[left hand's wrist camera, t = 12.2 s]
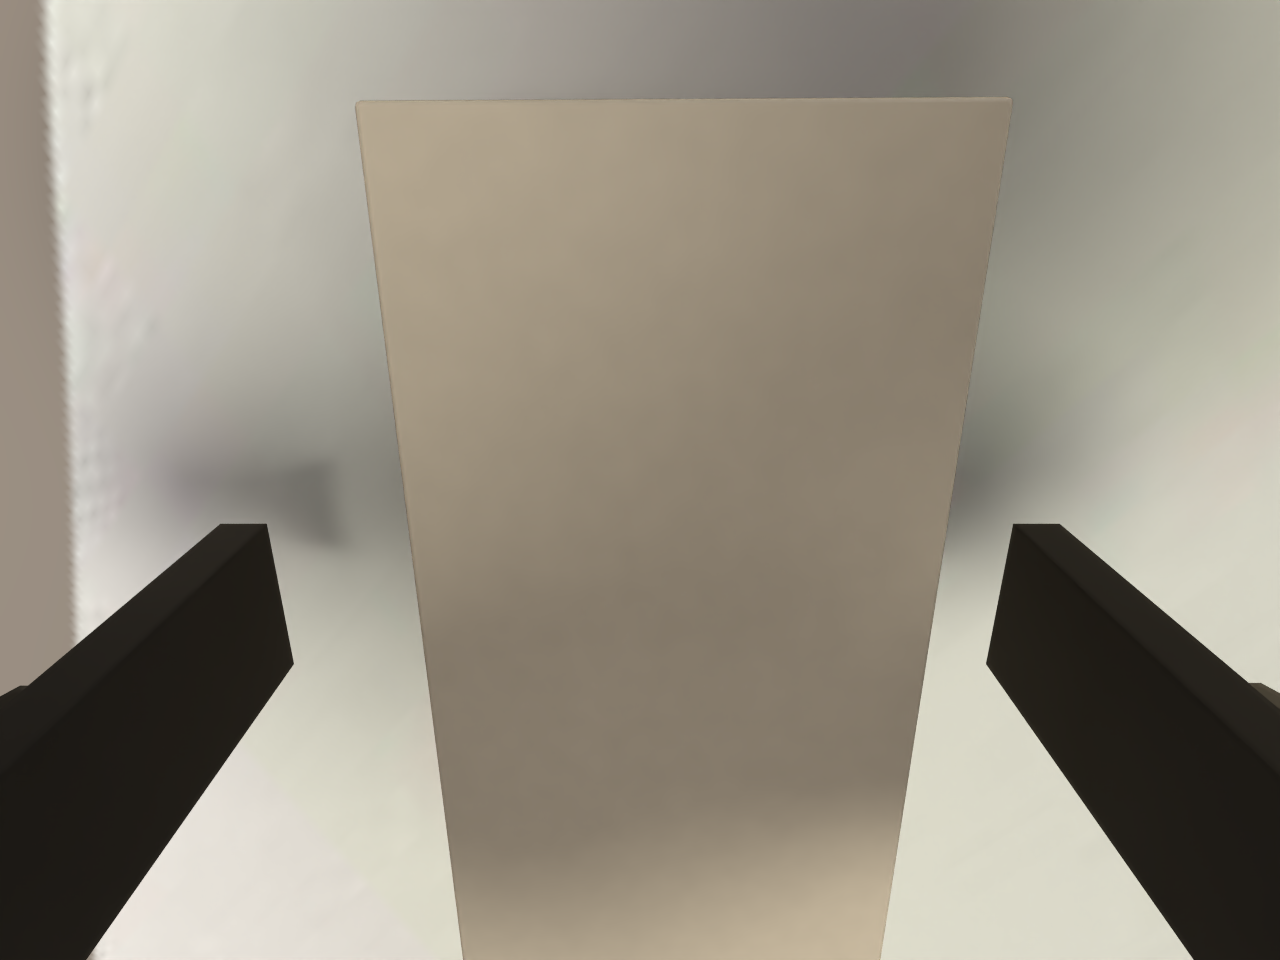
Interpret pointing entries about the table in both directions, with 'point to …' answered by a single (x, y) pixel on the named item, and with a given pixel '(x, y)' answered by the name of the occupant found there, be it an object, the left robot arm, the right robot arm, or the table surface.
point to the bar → (678, 497)
